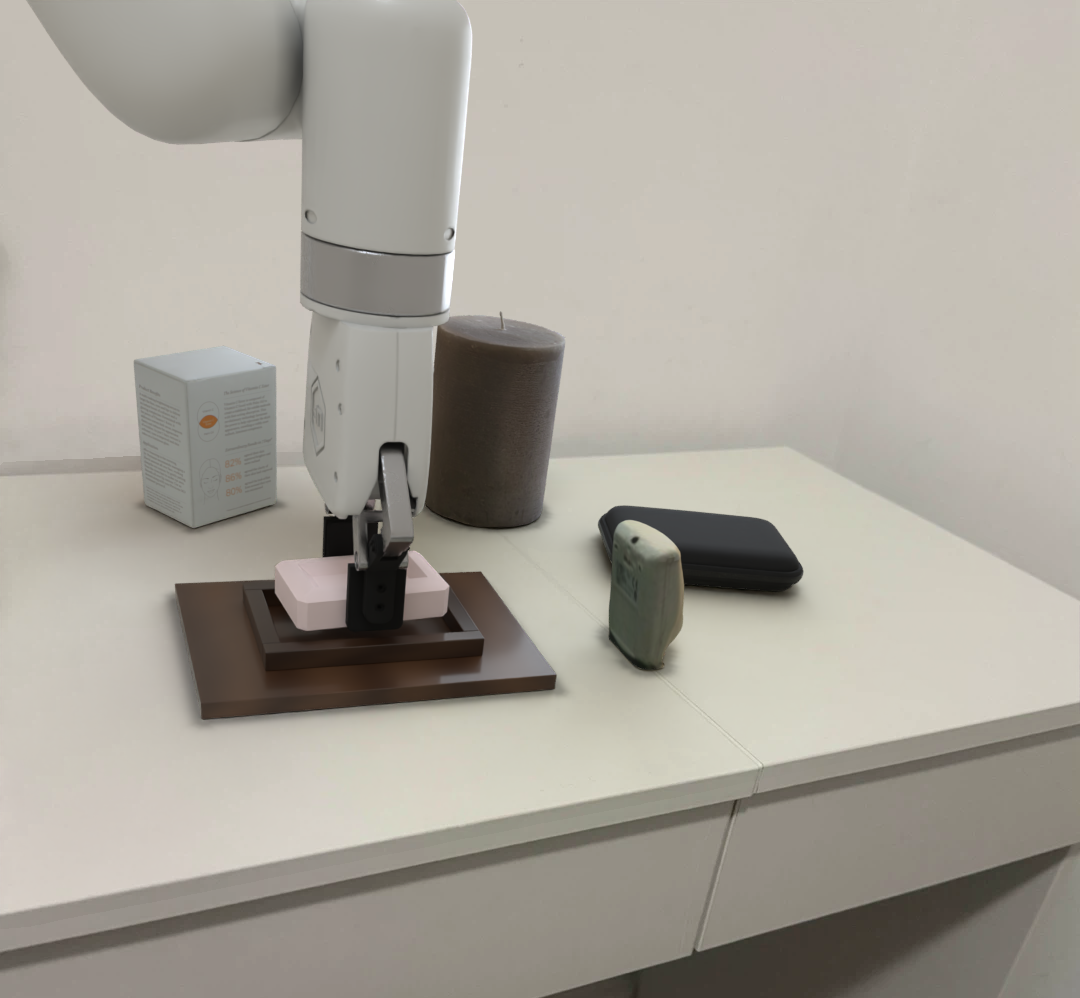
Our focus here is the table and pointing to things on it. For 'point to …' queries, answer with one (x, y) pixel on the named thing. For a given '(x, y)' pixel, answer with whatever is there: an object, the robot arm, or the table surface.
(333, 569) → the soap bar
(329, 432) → the robot arm
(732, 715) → the table surface
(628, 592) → the grey-green rounded block
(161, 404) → the small box
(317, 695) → the backing plate
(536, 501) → the pillar candle
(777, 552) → the carrying case
